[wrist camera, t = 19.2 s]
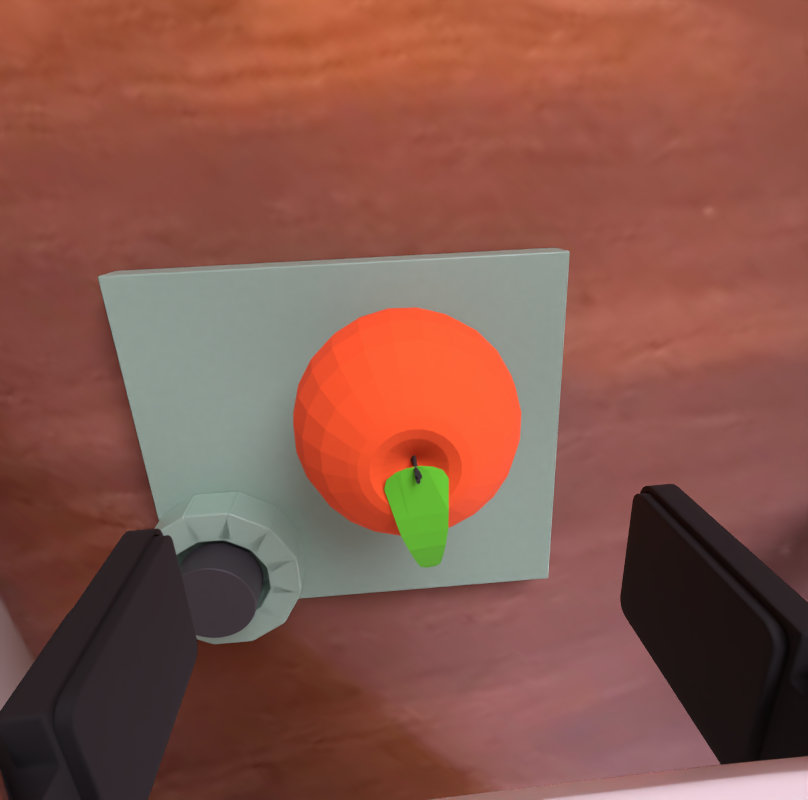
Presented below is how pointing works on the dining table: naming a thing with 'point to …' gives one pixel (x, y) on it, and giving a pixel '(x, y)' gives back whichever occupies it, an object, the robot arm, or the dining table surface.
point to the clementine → (407, 425)
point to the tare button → (221, 588)
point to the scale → (275, 398)
